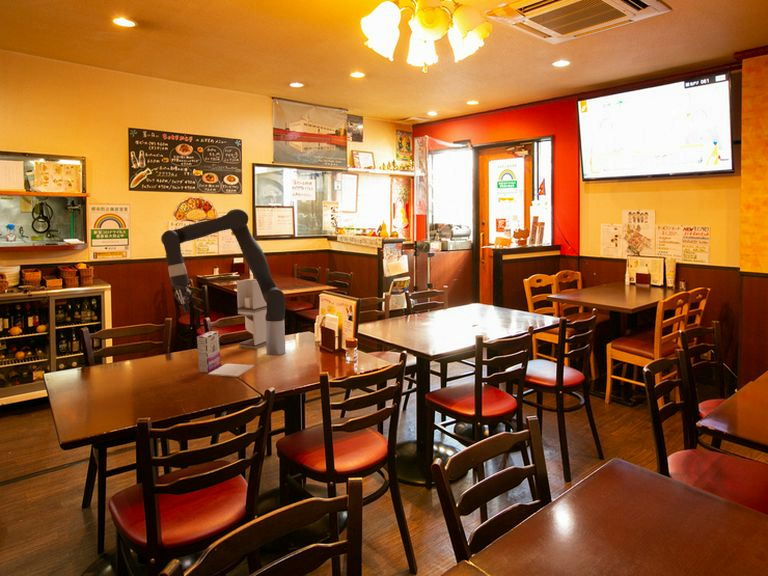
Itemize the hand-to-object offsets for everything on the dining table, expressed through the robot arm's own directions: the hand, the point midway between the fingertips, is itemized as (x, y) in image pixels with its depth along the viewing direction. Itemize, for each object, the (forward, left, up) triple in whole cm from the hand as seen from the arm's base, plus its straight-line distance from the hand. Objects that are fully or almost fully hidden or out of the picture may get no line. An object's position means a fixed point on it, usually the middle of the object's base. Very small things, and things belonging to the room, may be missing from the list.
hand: (187, 311), depth 243 cm
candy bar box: (+3, +12, -26) cm, 28 cm away
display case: (-42, +11, -26) cm, 51 cm away
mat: (+3, +23, -26) cm, 34 cm away
